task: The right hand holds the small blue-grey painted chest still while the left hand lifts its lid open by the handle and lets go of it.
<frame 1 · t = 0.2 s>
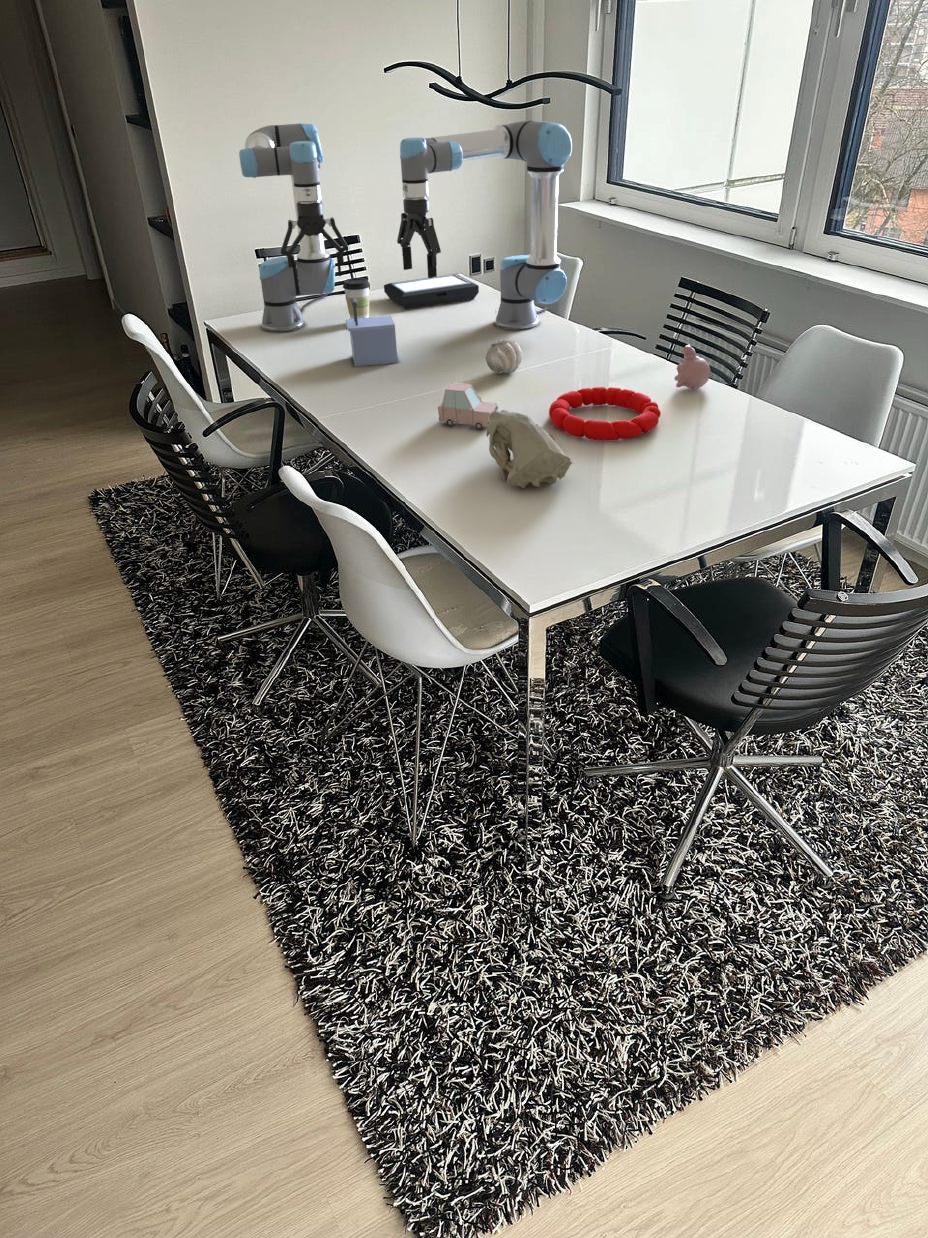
left hand: (317, 276, 273), 28 cm above the table, tool pointing down, fingers open, 13 cm apart
right hand: (419, 273, 273), 28 cm above the table, tool pointing down, fingers open, 13 cm apart
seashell: (505, 372, 279), on the table
toy car: (468, 423, 246), on the table
lid: (369, 311, 284), point 15 cm above the table, hinge at 0.0°
figurine: (690, 388, 263), on the table
chest: (374, 359, 293), on the table
electronic device: (431, 299, 351), on the table
coffee cup: (360, 323, 327), on the table
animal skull: (520, 470, 220), on the table
decorative ring: (603, 422, 244), on the table
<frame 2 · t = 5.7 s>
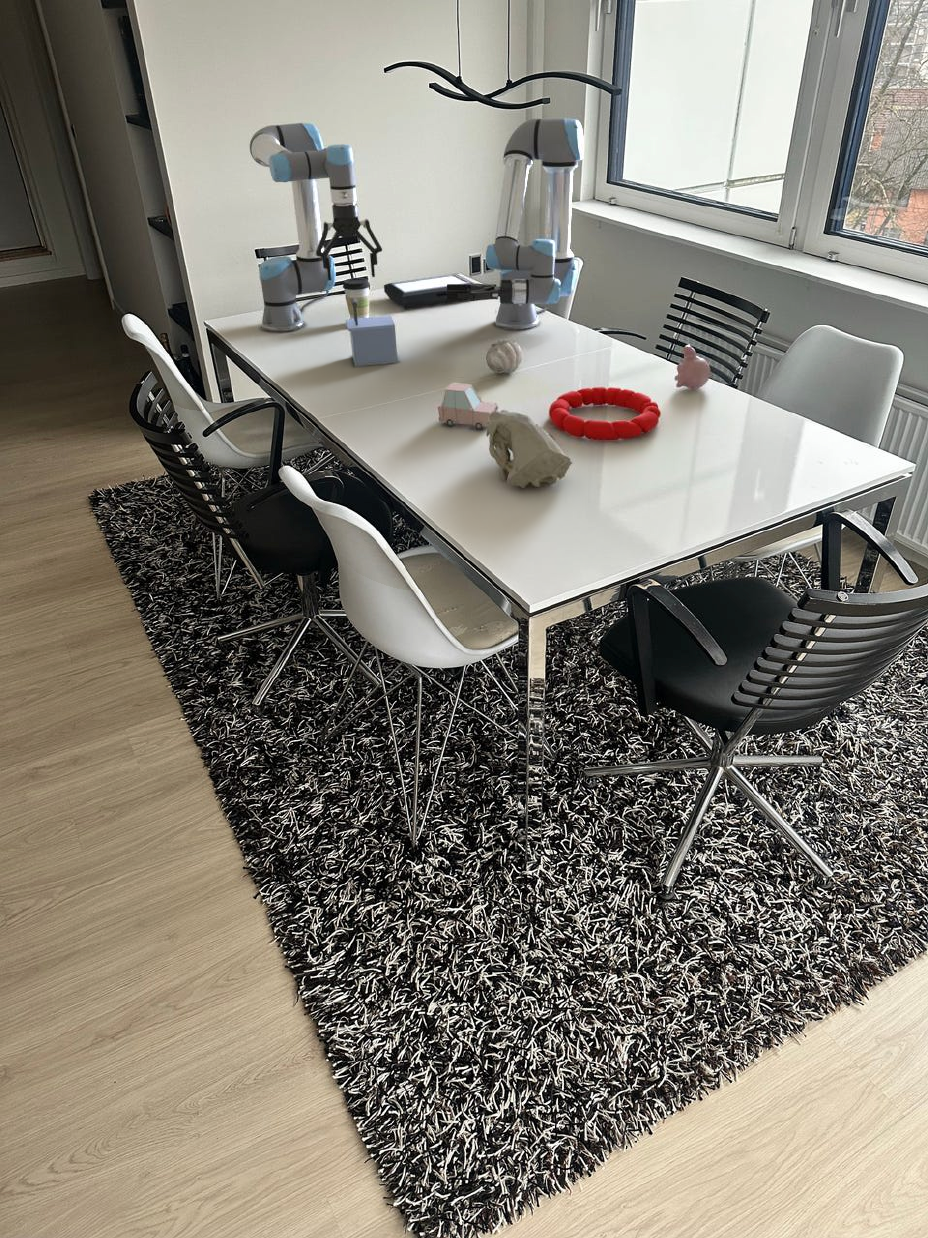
left hand: (351, 277, 277), 26 cm above the table, tool pointing down, fingers open, 13 cm apart
right hand: (446, 291, 289), 19 cm above the table, tool horizontal, fingers open, 13 cm apart
nothing on the table moved.
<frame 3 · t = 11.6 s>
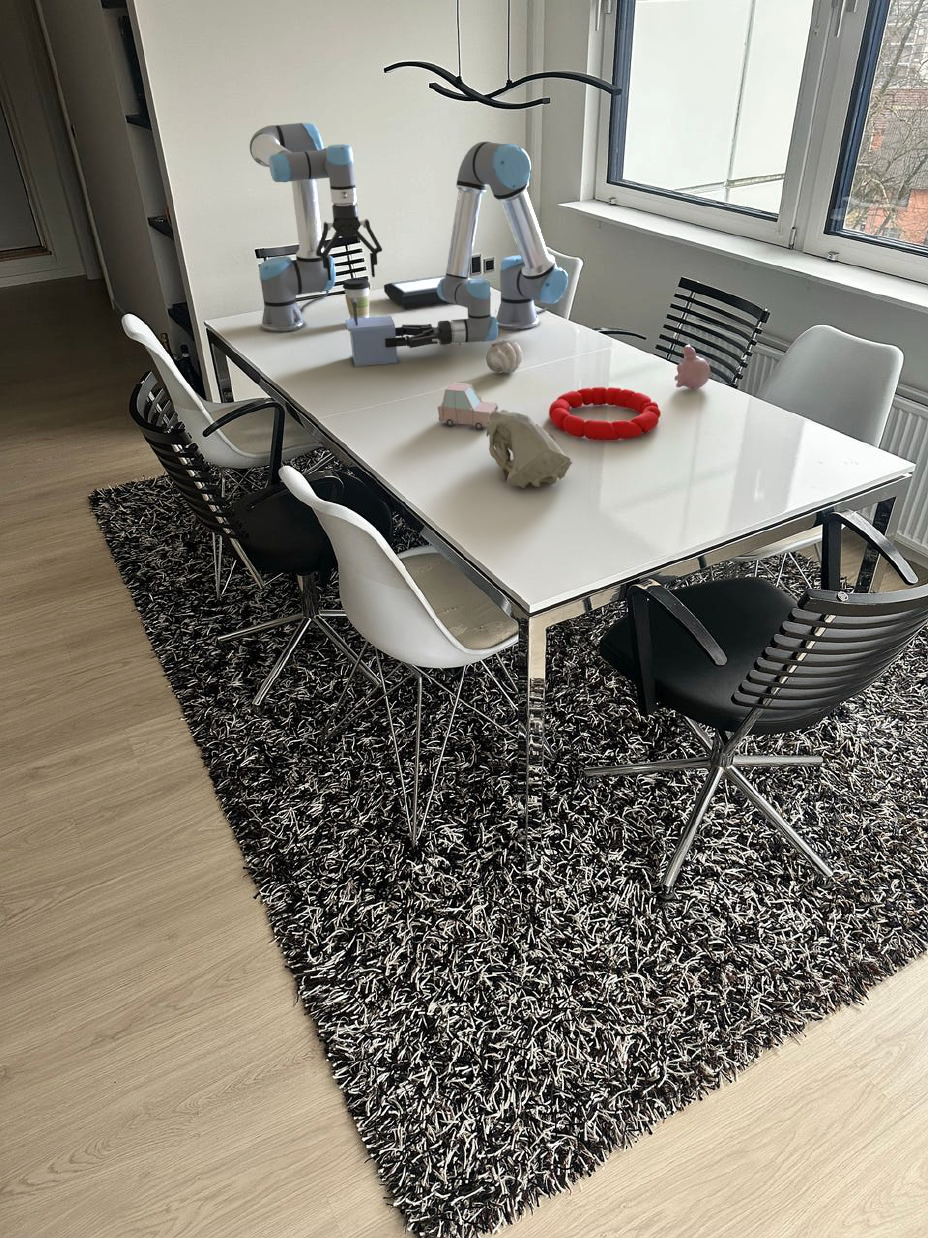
left hand: (351, 277, 277), 26 cm above the table, tool pointing down, fingers open, 13 cm apart
right hand: (383, 337, 290), 7 cm above the table, tool horizontal, fingers closed on chest, 10 cm apart
chest: (374, 359, 293), on the table, touching right hand
everything else where it was.
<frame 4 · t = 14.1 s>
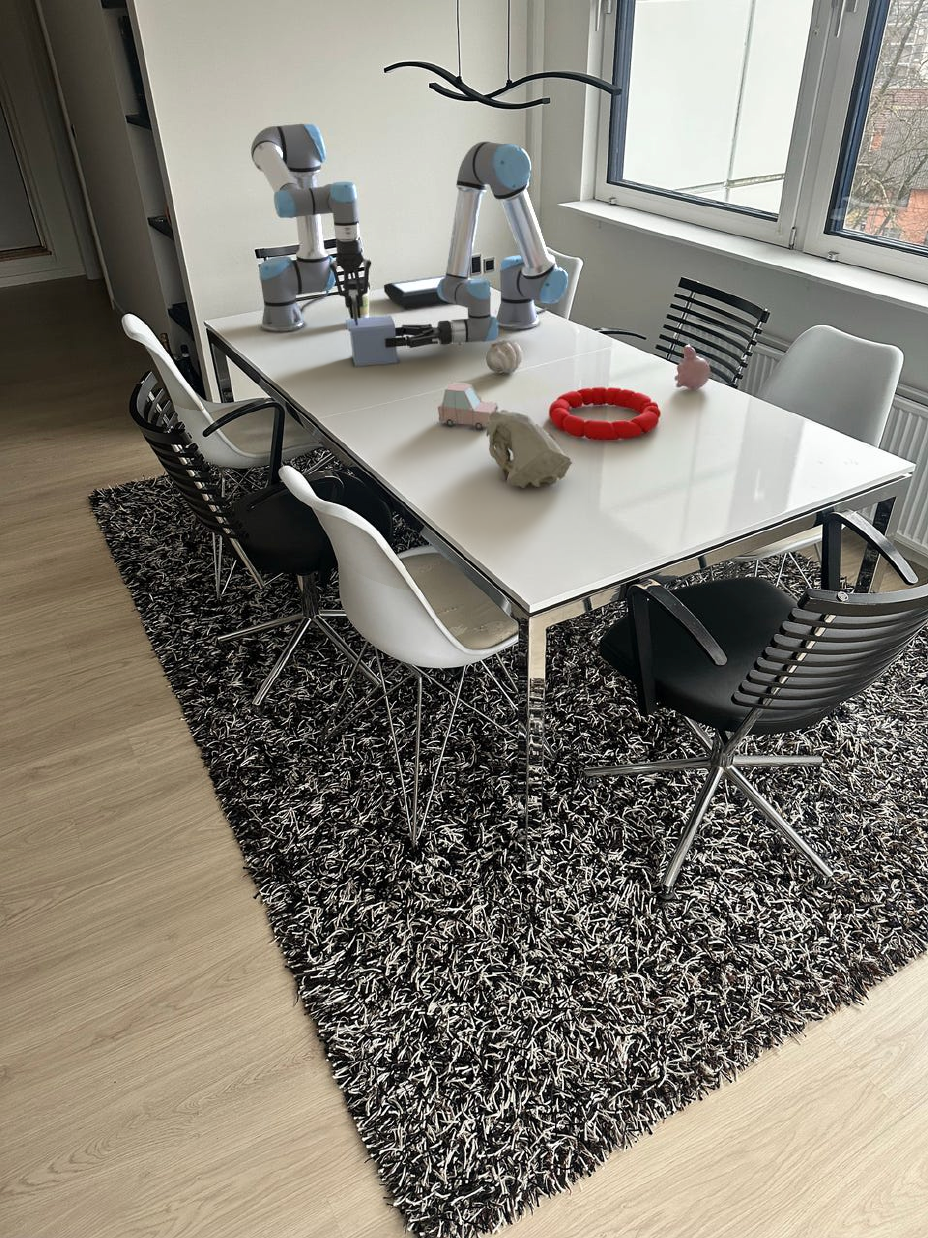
left hand: (355, 316, 284), 14 cm above the table, tool pointing down, fingers closed on lid, 2 cm apart
right hand: (383, 337, 290), 7 cm above the table, tool horizontal, fingers closed on chest, 10 cm apart
lid: (369, 311, 284), point 15 cm above the table, hinge at -0.1°, touching left hand
chest: (374, 359, 293), on the table, touching right hand
everything else where it was.
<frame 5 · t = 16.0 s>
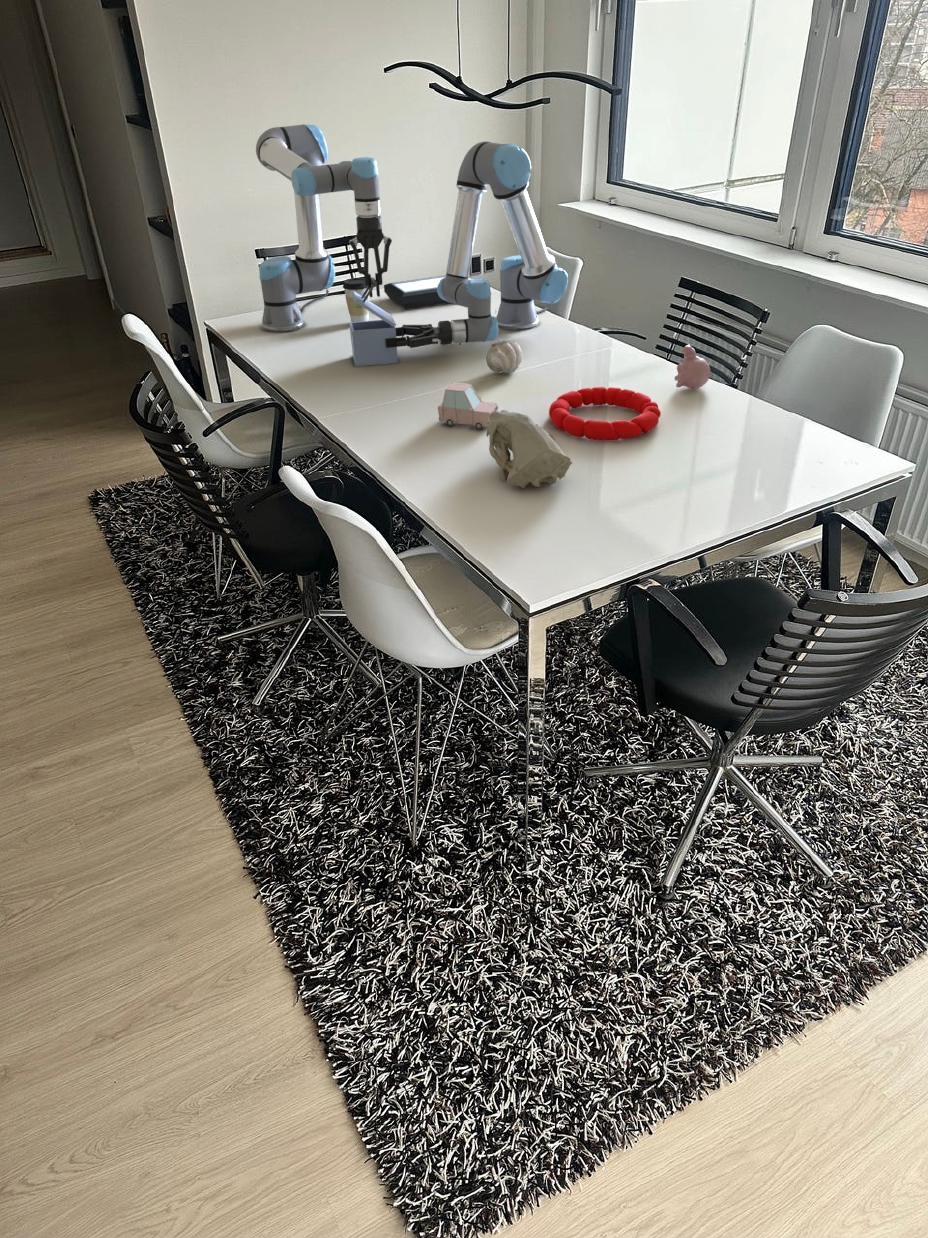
left hand: (374, 295, 282), 20 cm above the table, tool pointing down, fingers closed on lid, 2 cm apart
right hand: (384, 338, 290), 7 cm above the table, tool horizontal, fingers closed on chest, 10 cm apart
lid: (379, 298, 283), point 19 cm above the table, hinge at 36.8°, touching left hand
chest: (375, 359, 293), on the table, touching right hand
everything else where it was.
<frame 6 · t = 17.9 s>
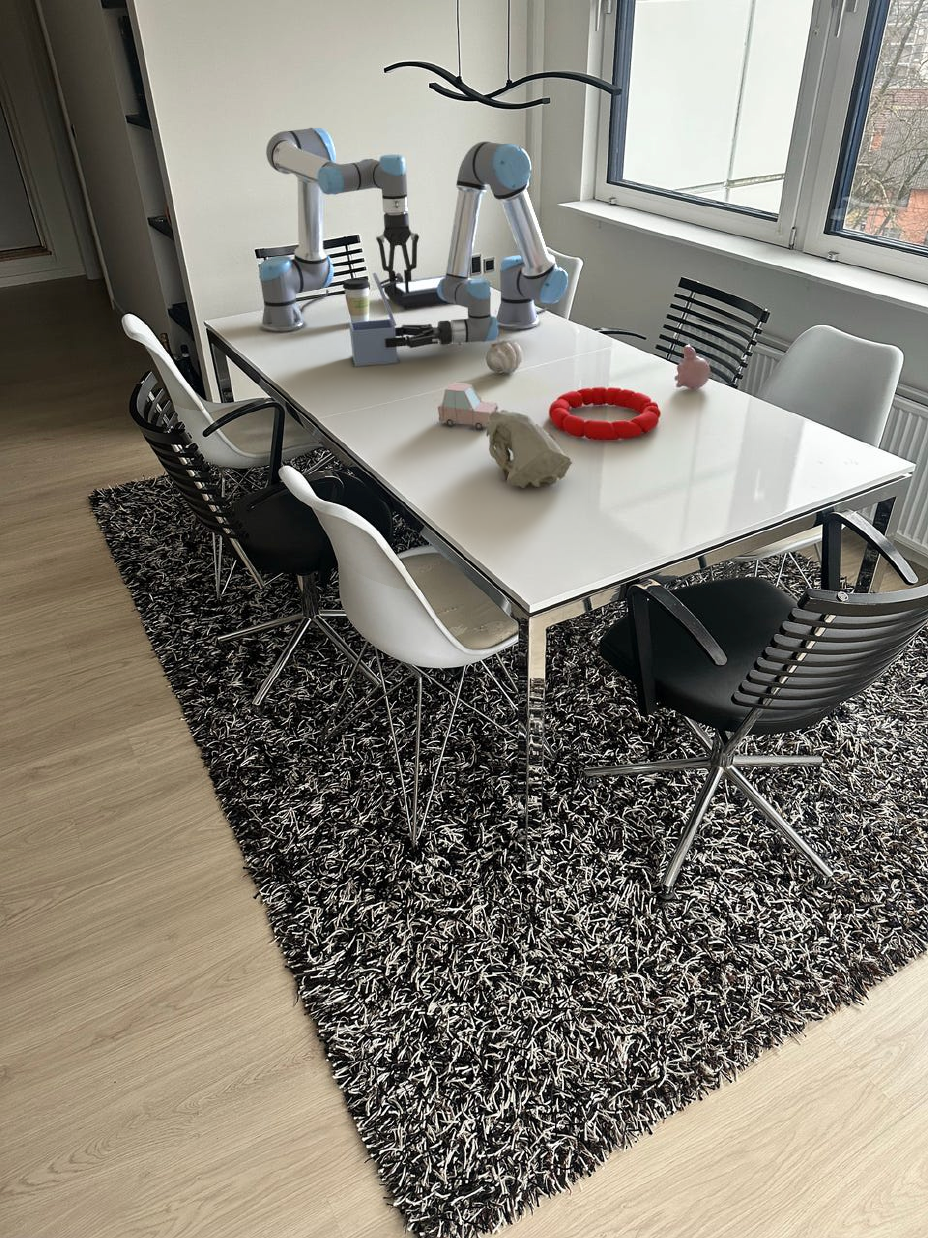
left hand: (401, 292, 283), 21 cm above the table, tool pointing down, fingers open, 3 cm apart
right hand: (383, 338, 290), 7 cm above the table, tool horizontal, fingers closed on chest, 10 cm apart
lid: (395, 295, 283), point 20 cm above the table, hinge at 72.6°
chest: (374, 359, 293), on the table, touching right hand
everything else where it was.
when the right hand's fingers open (7 cm above the table, at t = 21.5 s): chest stays where it is, on the table.
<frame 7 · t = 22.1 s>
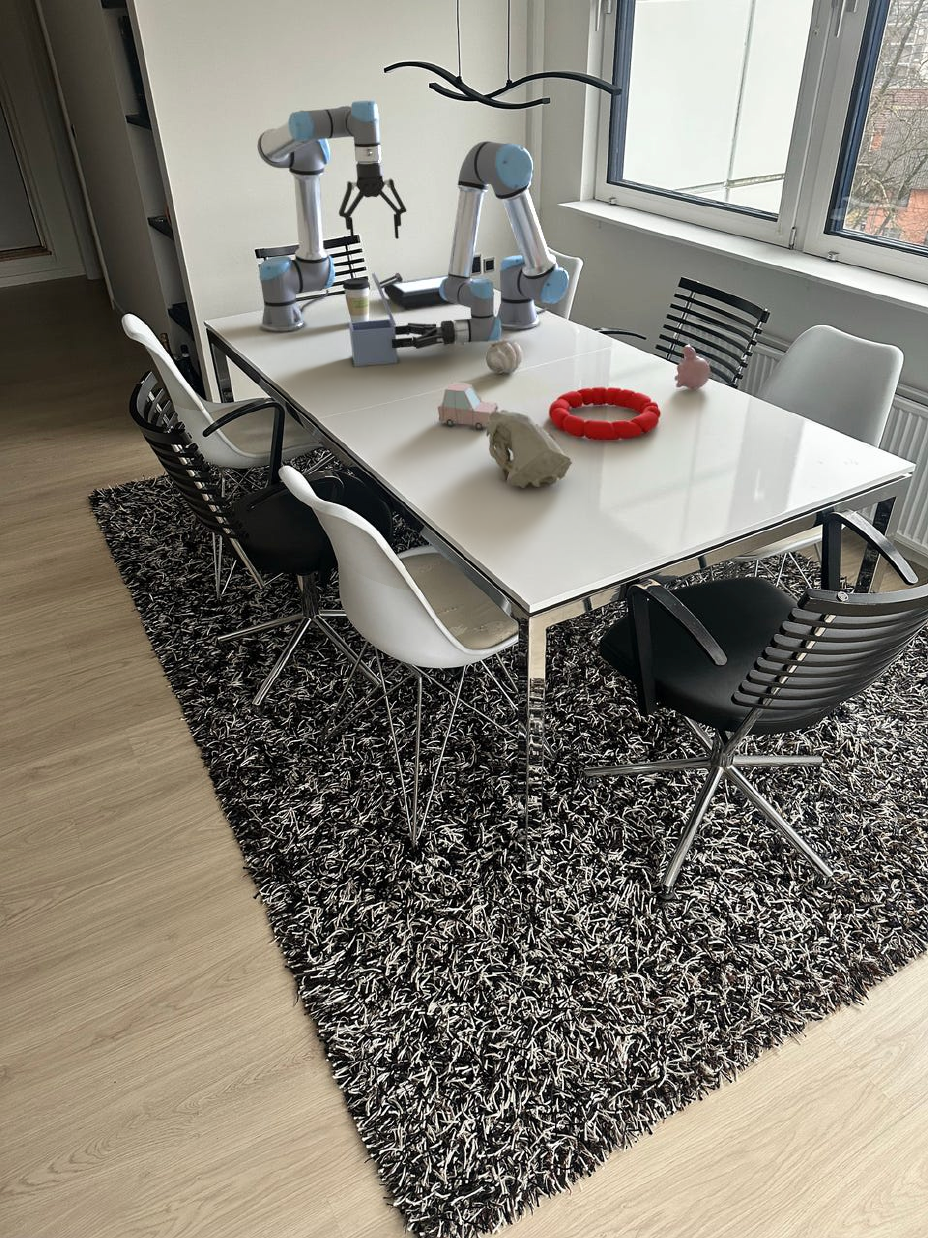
left hand: (374, 239, 272), 37 cm above the table, tool pointing down, fingers open, 13 cm apart
right hand: (389, 337, 290), 7 cm above the table, tool horizontal, fingers open, 13 cm apart
lid: (394, 295, 283), point 20 cm above the table, hinge at 71.7°
chest: (374, 359, 293), on the table
everything else where it was.
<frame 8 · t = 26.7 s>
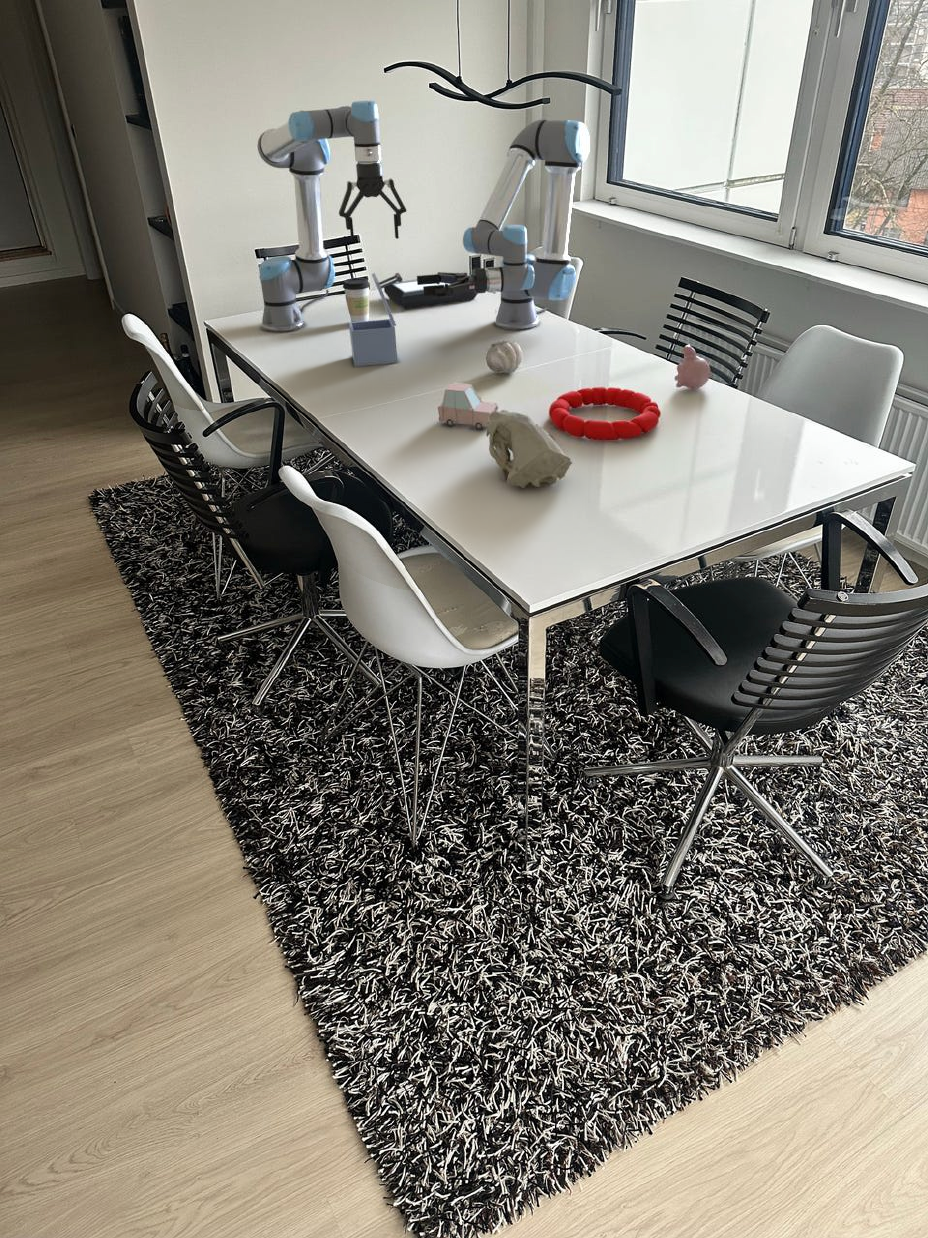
left hand: (374, 239, 272), 37 cm above the table, tool pointing down, fingers open, 13 cm apart
right hand: (420, 285, 283), 22 cm above the table, tool horizontal, fingers open, 13 cm apart
nothing on the table moved.
at the end: lid at +72° (first picture: +0°); the left hand is holding nothing; the right hand is holding nothing; chest tilted 0°; chest never tilted more than 1° during the clip; chest moved 0.0 cm from its start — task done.
